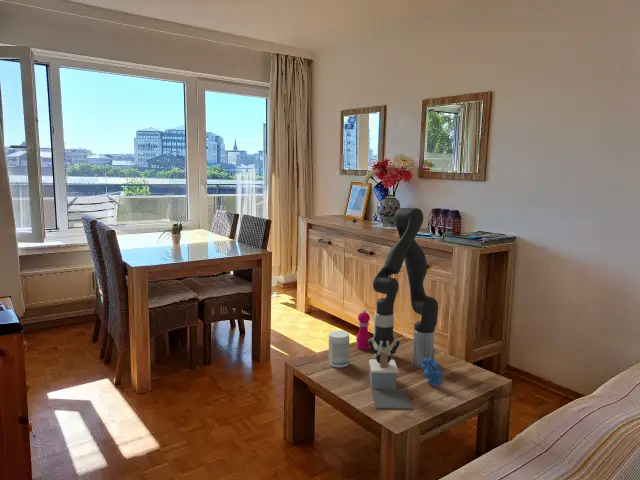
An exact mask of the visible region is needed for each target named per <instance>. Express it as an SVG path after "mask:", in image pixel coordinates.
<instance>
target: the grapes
mask: <svg viewBox="0 0 640 480" xmlns="http://www.w3.org/2000/svg"><path fill="white" fill-rule="evenodd" d="M423 362H424V363H423V364H422V369H421V370H423V377H424V378H425V379H427V384H429V385H431V386H434V387H435V388H439V386H440V385H442V384H443V381H444V379H443V378H442V377H443V371H442V369H440V368H439V367H440V364H439V362H438V361H436V360H435V358H434V359H433V358H432V357H429V358H424V360H423Z"/></svg>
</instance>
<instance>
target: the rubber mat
mask: <svg viewBox="0 0 640 480" xmlns="http://www.w3.org/2000/svg"><path fill="white" fill-rule="evenodd" d="M371 392H372V398H373V402H374V407H375V410H406V411H407V410H412V411H413V406H412V403H411V400H410V397H409V394H408V391H407V390H405V389H403V390H397V389H372V390H371Z"/></svg>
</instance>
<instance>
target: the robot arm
mask: <svg viewBox="0 0 640 480" xmlns="http://www.w3.org/2000/svg"><path fill="white" fill-rule="evenodd" d="M394 222H395V226H396V230H397V234H398V236H399V239H398V241H397V242H395V243H394V245H393V246H392V247H391V248H390V250H389V251H388V253H387V256H386V259H385V261H384V264H383V266H381V268H380V270H379V272H378V273H377V274H376V275H375V277H374V279H373V281H372V288H373V290H374V291H375V292H376V293H378V294H379V293H380V294H385V295H386V297H381V298H378V299H377V300H376V308H375V312H376V320H375V336H374V335H373V338H370V339H368V343H369V348H370V349H371V352H372V353H373V355H374V354H377V358H376V360H377V362H378V363H380V351H381V348H382V347H386V348H387V354H388V363H389V362H390V360H391V356H392V355H394V354H395V353H396V352H397V349H398V348H399V346H400V343H401V342H400V339H398V338H397V339H396V338H395V337H394V325H395V322H394V320H395V318H394V305H395V301H396V298H397V294H398V291H399V282H398V280H397V279H396V278H394V277H390V276H392V275H398V274H399V273H400V272H401V269H402V266H403V264H405V269H406V273H407V279H408V284H409V293H410V304H411V309H412V311H414V313H416V314H418V315H420V316H421V318H420V320H418V321H416V322H414V324H413V325H414V328H413V345H412V346H413V347H412V348H413V349H412V366H413V367H415V368H416V369H421V370H423V369H422V364H423V363H424V362H423V360H424V358H429V357H432V358H433V359H434V360H435V351H436V348H435V346H434V345H435V331H436V330H435V329H436V326H437V323H438V315H439V314H438V313H439V303H438V300H437V299H436V298H434V297H432V296H429V295H426V292H425V287H424V281H425V278H426V275H427V273H428V262H427V258H426V255H425V252H424V250H423V249H422V247H421V246H420V245H419V243H418V242H417V241H416V240H415V239H416V237H417V235H418V233H419V231H420V230H421V228H422V225H423V222H424V213H423V211H422V209H420V208H419V207H400V208H398V209H396V211H395V214H394ZM404 262H405V263H404ZM374 341H375V342H376V343H377V350H375V348H374V346H373V344H374ZM392 344H393V346H392V348H391V345H392Z"/></svg>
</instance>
